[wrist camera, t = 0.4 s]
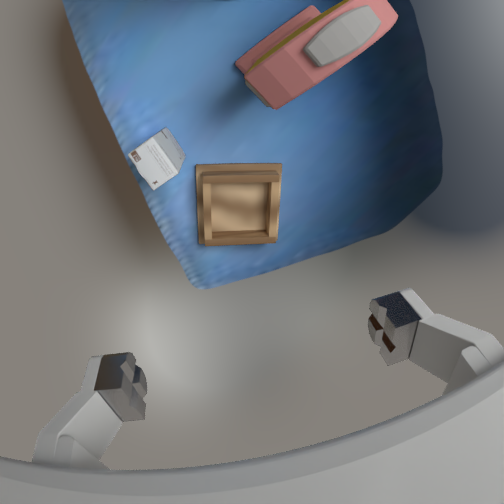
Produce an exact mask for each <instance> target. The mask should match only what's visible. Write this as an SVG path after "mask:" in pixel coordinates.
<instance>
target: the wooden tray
mask: <svg viewBox="0 0 504 504" xmlns="http://www.w3.org/2000/svg"><path fill="white" fill-rule="evenodd" d="M281 174H282V164H281V163H228V164H196V186H197V213H198V235H199V244H205V246H220V245H242V244H264V243H276V241H277V237H278V222H279V207H280V191H281Z"/></svg>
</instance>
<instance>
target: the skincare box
mask: <svg viewBox="0 0 504 504" xmlns="http://www.w3.org/2000/svg"><path fill="white" fill-rule="evenodd" d="M128 156H129V158H130V159H131V161H132V162H133V163H134V165H135V166H136V168H137V170H138V172H139V173H140V175H141V176H142V177H143V178H144V179H145V180H146V182H147V183H148V184H149V186H150V187H151V188H152V190H153V191H154V190H155V189H157V188H158V187H159V186H161V185H162V184H164V183H165V182H166V181H168V180H169V179H171V178H172V177H174V176H176V175H177V174H178V173H179V171H180V169H181V166H182V164H183V161H184V159H185V154H184V152H183V150H182V148H181V147H180V145H179V144H178V142H177V141H176V139H175V138H174V136H173V135H172V134H171V132H170V131H169V129H168V128H167V127H165V128H164V129H162V130H161V131H160V132H158V133H157V134H155V135H154V136H152V137H151V138H149V139H148V140H146V141H145V142H144V143H142V144H141V145H140V146H138V147H137V148H136V149H134V150H133V151H132V152H130V153H129V154H128Z"/></svg>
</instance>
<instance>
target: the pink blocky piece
mask: <svg viewBox="0 0 504 504" xmlns="http://www.w3.org/2000/svg"><path fill="white" fill-rule="evenodd" d="M397 18H398V15H397V14H396V12H395V11H394V9H393V8H392V7H391V5H390V4H389V3H388V2H387V0H344V1H342V2H340V3H338V4H337V5H335V6H333V7H332V8H330V9H328V10H326V11H325V12H323V13H320V12H319V11H318V10H317V8H316V7H315V6H309V7H308V8H306V9H305V10H303V11H302V12H300V13H299V14H297V15H296V16H295V17H293V18H292V19H290V20H289V21H287V22H286V23H285V24H283V25H282V26H280V27H279V28H278V29H276V30H275V31H274V32H272V33H271V34H270V35H268V36H267V37H266V38H264V39H263V40H262V41H260V42H259V43H258V44H257V45H255V46H254V47H253V48H251V49H250V50H249V51H248V52H246V53H245V54H244V55H243V56H242V57H240V58H239V59H238V60H237V61H236V62H235V65H236V66H237V67H238V68H239V69H240V71H241V72H242V73H243V74H244V79H245V80H246V81H245V84H246V85H247V86H248V87H249V88H250V89H251V91H252V92H253V93H254V94H255V95H256V96H257V97H258V98H259V99H260V100H261V101H262V102H263V103H264V104H265V105H266V107H272V108H273V109H276V110H277V109H278V108H280V107H282V106H283V105H285V104H286V103H288V102H290V101H291V100H293V99H295V98H296V97H298V96H299V95H301V94H302V93H304V92H305V91H307V90H308V89H310V88H312V87H313V86H315V85H316V84H318V83H319V82H321V81H322V80H323V79H325V78H326V77H328V76H329V75H331V74H332V73H334V72H335V71H337V70H338V69H340V68H341V67H342V66H344V65H345V64H346V63H348V62H349V61H351V60H352V59H353V58H355V57H356V56H358V55H359V54H360V53H362V52H363V51H364V50H365V49H367V48H368V47H369V46H371V45H372V44H373V43H374V42H376V41H377V40H378V39H379V38H381V37H382V36H383V35H384V34H385V33H386V32H387V31H388V30H390V28H391V27H392V26H393V25H394V24H395V22H396V20H397Z"/></svg>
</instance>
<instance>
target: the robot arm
mask: <svg viewBox="0 0 504 504" xmlns="http://www.w3.org/2000/svg"><path fill="white" fill-rule="evenodd" d="M369 309H370V310H371V312H372V314H371V316H370V317H369V319H368V328H369V334H370V336H371V338H372V341H373V342H374V344H376V345H378V346H380V347H381V348H380V354H381V356H382V357H383V359H384V360H385V362H386V364H387V366H389V365H392V364H395V363H398V362H401V361H404V360H406V359H409V360H410V361H412V362H413V363H415V364H417V365H418V366H420V367H422V368H423V369H425V370H427V371H428V372H430V373H432V374H433V375H435V376H437V377H438V378H440V379H442V380H443V381H445V382H447V383H448V384H447V386H446V388H445V390H444V392H443V395H442V396H441V397H439V398H437V399H434V400H432V401H430V402H428V403H426V404H424V405H422V406H419V407H417V408H415V409H413V410H411V411H408V412H406V413H404V414H401V415H399V416H396V417H394V418H392V419H389V420H386V421H384V422H381V423H378V424H376V425H373V426H370V427H368V428H365V429H362V430H359V431H356V432H353V433H350V434H347V435H344V436H341V437H338V438H334V439H331V440H328V441H325V442H321V443H317V444H314V445H310V446H306V447H302V448H299V449H295V450H290V451H286V452H282V453H277V454H273V455H268V456H263V457H258V458H252V459H247V460H241V461H235V462H228V463H221V464H214V465H205V466H197V467H186V468H173V469H153V470H110V469H109V468H108V467H107V466H105V465H104V464H103V463H102V462H100V461H99V460H100V458H101V457H102V455H103V454H104V452H105V450H106V449H107V447H108V446H109V444H110V443H111V441H112V439H113V438H114V436H115V435H116V433H117V432H118V430H119V428H120V427H121V425H122V424H123V422H124V421H135V420H144V419H145V407H146V404H145V402H144V401H143V397H144V396H145V395H146V394H147V382H146V377H145V375H144V372H143V370H142V369H141V368H140V367H138V366H137V365H135V362H136V359H135V357H134V356H133V354H132V353H130V352H126V353H117V354H108V355H102V356H92V357H91V358H90V359H89V362H88V365H87V369H86V373H85V376H84V380H83V384H82V387H81V391H80V392H77V393H76V394H75V395H74V396H73V397H72V398H71V399H70V400H69V401H68V402H67V403H66V404H65V406H64V407H63V408H62V409H61V410H60V411H59V412H58V413H57V414H56V415H55V416H54V417H53V419H52V420H51V421H50V422H49V423H48V424H47V425H46V426H45V427H44V428H43V429H42V430H41V431H40V433H39V434H38V438H37V442H36V446H35V450H34V454H33V459H32V462H26V461H21V460H15V459H10V458H6V457H1V456H0V504H504V348H503V347H502V346H501V344H500V343H499V342H498V341H497V340H496V339H495V337H494V336H493V335H492V334H490V333H487V332H485V331H482V330H479V329H477V328H474V327H472V326H469V325H467V324H464V323H461V322H459V321H456V320H453V319H451V318H448V317H446V316H443V315H440V314H434V313H433V312H432V311H431V310H430V309H429V308H428V307H427V305H426V304H425V303H424V302H423V301H422V300H421V299H420V298H419V296H418V295H417V294H416V293H415V292H414V291H413V290H412V289H411V288H406V289H404V290H401V291H397V292H395V293H392V294H388V295H385V296H382V297H378V298H376V299H372V300H371V302H370V308H369Z"/></svg>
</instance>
